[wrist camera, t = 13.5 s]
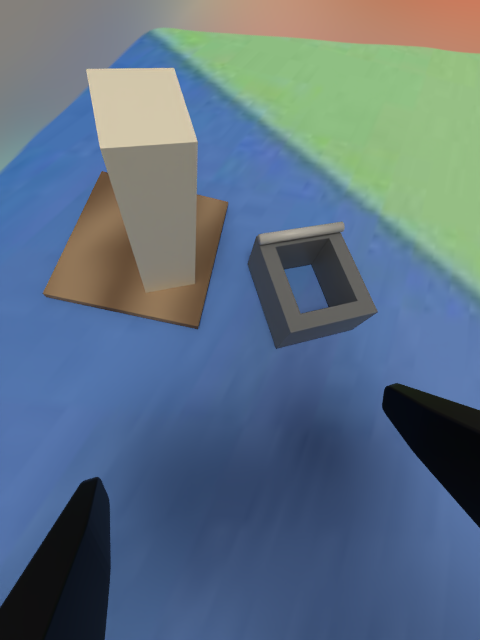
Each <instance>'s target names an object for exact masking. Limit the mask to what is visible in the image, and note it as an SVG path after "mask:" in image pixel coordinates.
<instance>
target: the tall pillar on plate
mask: <svg viewBox="0 0 480 640" xmlns="http://www.w3.org/2000/svg"><path fill="white" fill-rule="evenodd" d="M86 71H87V76H88V82H89V88H90V93H91V99H92V105H93V110H94V116H95V122H96V127H97V133H98V139H99V144H100V149H101V153H102V156H103V159H104V162H105V165H106V168H107V172H108V175H109V178H110V181H111V184H112V187H113V191H114V194H115V197H116V200H117V203H118V206H119V209H120V213H121V216H122V219H123V222H124V225H125V228H126V232H127V235H128V238H129V241H130V244H131V247H132V251H133V254H134V257H135V260H136V263H137V266H138V270H139V273H140V276H141V279H142V282H143V285H144V289H145V292H146V293H147V292H153V291H158V290H164V289H169V288H175V287H180V286H186V285H191V284H195V254H196V200H197V145H198V142H197V139H196V135H195V132H194V129H193V126H192V123H191V120H190V117H189V114H188V110H187V107H186V104H185V101H184V98H183V95H182V92H181V89H180V86H179V82H178V79H177V76H176V73H175V70H174V68H133V69H86Z"/></svg>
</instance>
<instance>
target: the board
mask: <svg viewBox="0 0 480 640" xmlns="http://www.w3.org/2000/svg"><path fill="white" fill-rule="evenodd" d="M227 207H228V202H225V201H221V200H217V199H213V198H209V197H205V196H201V195H197V200H196V254H195V284H191V285H186V286H180V287H175V288H169V289H164V290H158V291H153V292H147V293H146V292H145V289H144V285H143V282H142V279H141V276H140V273H139V270H138V266H137V263H136V260H135V257H134V254H133V251H132V247H131V244H130V241H129V238H128V235H127V232H126V228H125V225H124V222H123V219H122V216H121V213H120V209H119V206H118V203H117V200H116V197H115V194H114V191H113V187H112V184H111V181H110V178H109V175H108V173H107V172H103V171H102V172H101V174H100V176H99V178H98V180H97V182H96V184H95V186H94V188H93V190H92V193H91V195H90V197H89V199H88V201H87V203H86V205H85V207H84V209H83V211H82V213H81V215H80V217H79V219H78V222H77V224H76V226H75V228H74V230H73V232H72V234H71V236H70V238H69V240H68V242H67V244H66V246H65V248H64V251H63V253H62V255H61V257H60V259H59V261H58V263H57V265H56V267H55V269H54V271H53V273H52V275H51V277H50V280H49V282H48V284H47V286H46V288H45V290H44V292H43V294H44V295H45V296H46V297H49V298H53V299H58V300H63V301H68V302H72V303H77V304H82V305H86V306H91V307H96V308H101V309H105V310H110V311H115V312H120V313H124V314H129V315H134V316H138V317H143V318H148V319H153V320H157V321H162V322H167V323H172V324H176V325H181V326H186V327H190V328H195V329H198V327H199V323H200V319H201V315H202V310H203V306H204V302H205V298H206V294H207V290H208V286H209V281H210V277H211V273H212V269H213V265H214V261H215V256H216V252H217V248H218V244H219V240H220V236H221V232H222V227H223V223H224V219H225V215H226V211H227Z"/></svg>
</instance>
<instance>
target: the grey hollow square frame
mask: <svg viewBox="0 0 480 640" xmlns="http://www.w3.org/2000/svg"><path fill="white" fill-rule="evenodd" d="M343 231H344V223H343V222H337V223H330V224H324V225H317V226H311V227H304V228H297V229H291V230H284V231H278V232H271V233H264V234H259V235H258V236H256V239H255V242H254V245H253V248H252V252H251V255H250V258H249V261H248V267H249V270H250V272H251V275H252V278H253V281H254V284H255V287H256V290H257V293H258V296H259V299H260V302H261V305H262V308H263V311H264V314H265V317H266V320H267V323H268V326H269V329H270V332H271V335H272V338H273V341H274V344H275V347H276V349H277V348H281V347H285V346H289V345H293V344H297V343H301V342H305V341H309V340H313V339H317V338H321V337H325V336H329V335H333V334H337V333H341V332H345V331H349V330H352V329H354V328H355V327H357V326H358V325H360V324H361V323H362V322H364V321H365V320H367V319H368V318H370V317H371V316H373V315H374V314H376V313H377V312H378V311H377V309H376V307H375V305H374V303H373V301H372V299H371V296H370V294H369V292H368V290H367V288H366V286H365V284H364V282H363V279H362V277H361V275H360V273H359V271H358V269H357V267H356V265H355V262H354V260H353V258H352V256H351V254H350V252H349V250H348V247H347V245H346V243H345V241H344V239H343V237H342V235H341V233H340V232H343ZM310 264H312V267H313V269H314V272H315V274H316V276H317V279H318V281H319V284H320V286H321V288H322V291H323V293H324V296H325V298H326V301H327V303H328V305H329V308H324V309H320V310H315V311H311V312H307V313H302V314H300V311H299V308H298V306H297V303H296V301H295V298H294V295H293V293H292V290H291V287H290V285H289V282H288V279H287V277H286V274H285V271H284V269H288V268H294V267H299V266H304V265H310Z"/></svg>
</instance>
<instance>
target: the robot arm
mask: <svg viewBox="0 0 480 640" xmlns="http://www.w3.org/2000/svg"><path fill="white" fill-rule="evenodd" d="M382 408H383V410H384V412H385V414H386V415H387V417H388V418H389V419H390V421H391V422H392V424H393V425H394V426H395V428H396V429H397V430H398V432H399V433H400V434H401V436H402V437H403V439H404V440H405V441H406V443H407V444H408V445H409V447H410V448H411V449H412V451H413V452H414V453H415V454H416V456H417V457H418V458H419V459H420V460H421V461H422V463H423V464H424V465H425V466H426V467H427V468H428V469H429V471H430V472H431V473H432V474H433V475H434V476H435V477H436V479H437V480H438V481H439V482H440V483H441V484H442V485H443V487H444V488H445V489H446V490H447V491H448V492H449V493H450V495H451V496H452V497H453V498H454V499H455V500H456V501H457V503H458V504H459V505H460V506H461V507H462V508H463V509H464V511H465V512H466V513H467V514H468V515H469V516H470V517H471V519H472V520H473V521H474V522H475V523H476V524H477V525H478V527H479V528H480V410H477V409H474V408H471V407H468V406H465V405H462V404H459V403H456V402H453V401H450V400H447V399H444V398H441V397H438V396H435V395H432V394H429V393H426V392H423V391H420V390H417V389H414V388H411V387H408V386H405V385H402V384H398V383H395V384H392V385H389V386H386V387H385V389H384V395H383V402H382ZM110 569H111V556H110V504H109V498H108V495H107V492H106V490H105V488H104V485H103V483H102V481H101V479H100V478H99V477H94V478H91V479H88V480H85V481H83V482H82V483H81V484H80V485H79V487H78V488H77V490H76V491H75V493H74V494H73V496H72V497H71V499H70V501H69V502H68V504H67V505H66V507H65V508H64V510H63V511H62V513H61V514H60V516H59V518H58V519H57V521H56V522H55V524H54V525H53V527H52V528H51V530H50V531H49V533H48V535H47V536H46V538H45V539H44V541H43V542H42V544H41V545H40V547H39V548H38V550H37V552H36V553H35V555H34V556H33V558H32V559H31V561H30V562H29V564H28V565H27V567H26V569H25V570H24V572H23V573H22V575H21V576H20V578H19V579H18V581H17V582H16V584H15V586H14V587H13V589H12V590H11V592H10V593H9V595H8V596H7V598H6V599H5V601H4V603H3V604H2V606H1V607H0V640H105V630H106V618H107V607H108V596H109V584H110Z"/></svg>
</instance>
